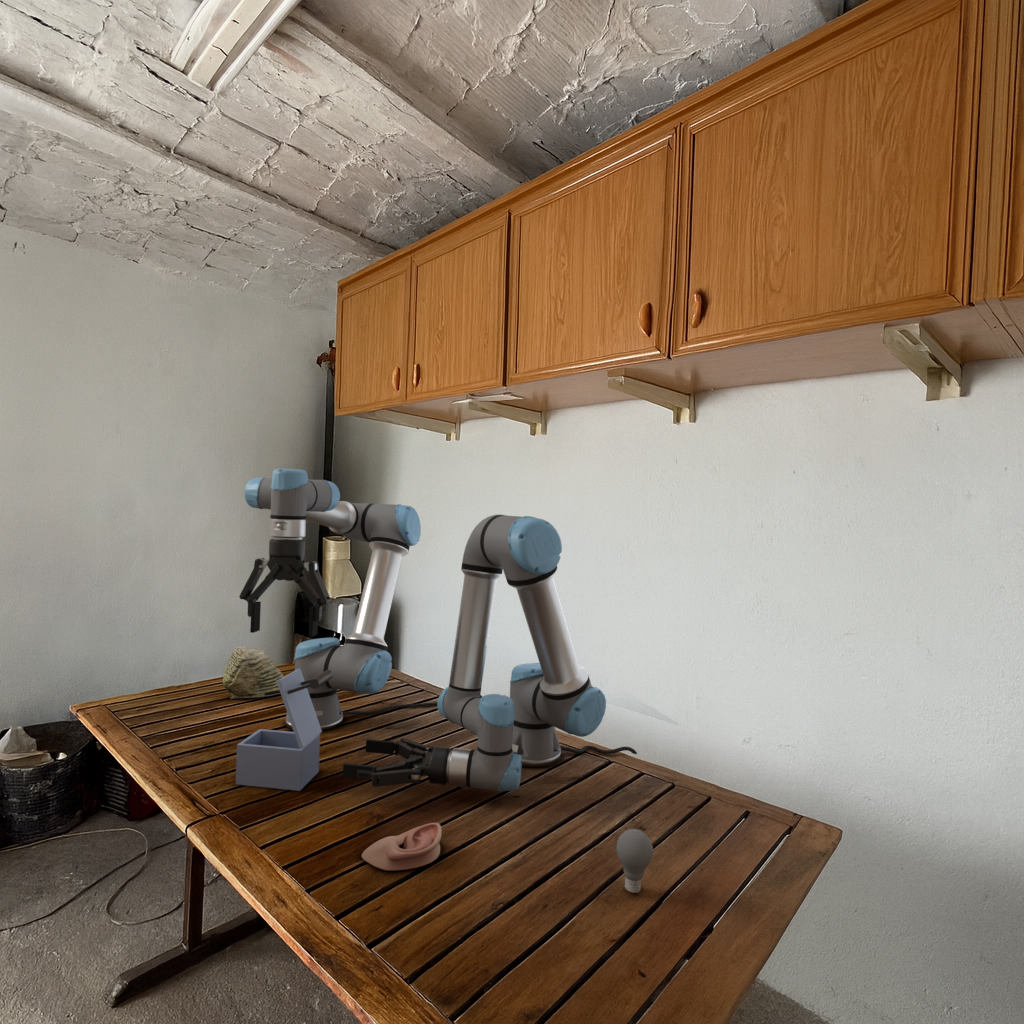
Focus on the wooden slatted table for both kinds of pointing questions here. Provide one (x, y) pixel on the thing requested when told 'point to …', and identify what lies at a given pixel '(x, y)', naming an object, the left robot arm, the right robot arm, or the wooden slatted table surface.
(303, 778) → the chest
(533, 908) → the wooden slatted table surface
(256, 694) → the fossil
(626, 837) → the light bulb
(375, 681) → the left robot arm
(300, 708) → the lid
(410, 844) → the anatomical model
